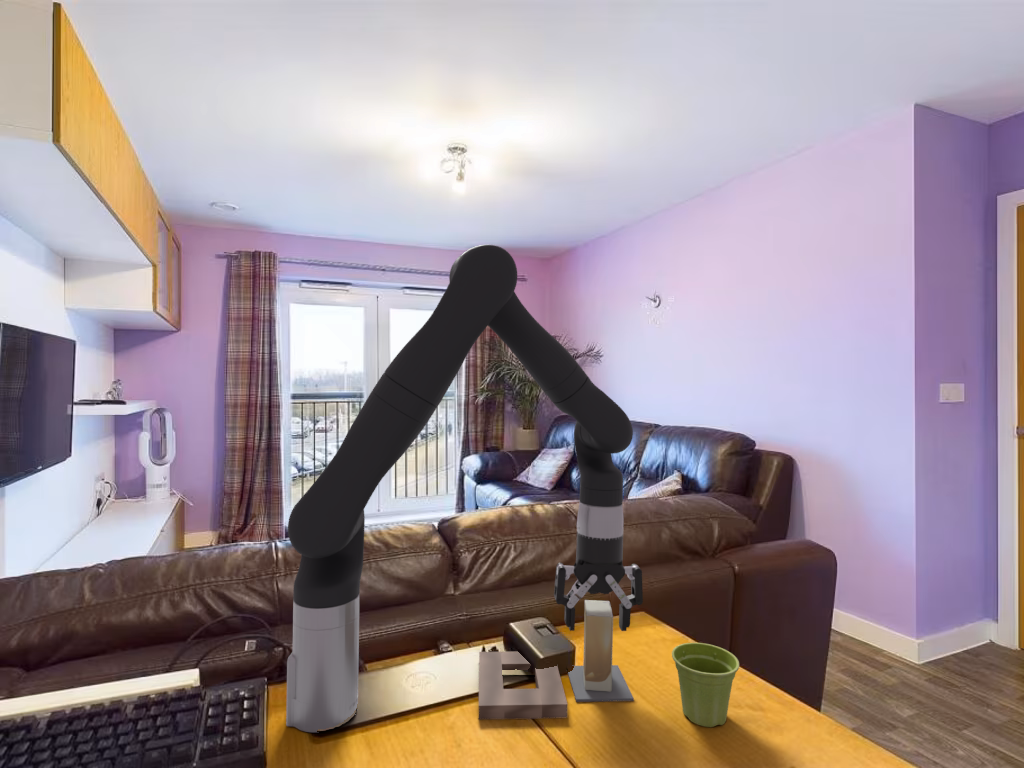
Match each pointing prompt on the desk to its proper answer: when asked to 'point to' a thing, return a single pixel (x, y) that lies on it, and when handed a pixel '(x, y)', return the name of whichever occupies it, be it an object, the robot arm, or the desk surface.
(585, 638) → the skincare box
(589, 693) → the mat
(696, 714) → the plant pot
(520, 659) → the puzzle board
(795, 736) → the desk surface
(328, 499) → the robot arm
